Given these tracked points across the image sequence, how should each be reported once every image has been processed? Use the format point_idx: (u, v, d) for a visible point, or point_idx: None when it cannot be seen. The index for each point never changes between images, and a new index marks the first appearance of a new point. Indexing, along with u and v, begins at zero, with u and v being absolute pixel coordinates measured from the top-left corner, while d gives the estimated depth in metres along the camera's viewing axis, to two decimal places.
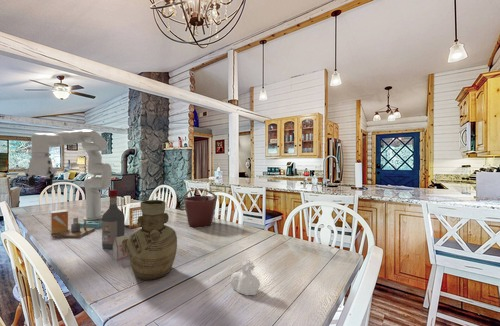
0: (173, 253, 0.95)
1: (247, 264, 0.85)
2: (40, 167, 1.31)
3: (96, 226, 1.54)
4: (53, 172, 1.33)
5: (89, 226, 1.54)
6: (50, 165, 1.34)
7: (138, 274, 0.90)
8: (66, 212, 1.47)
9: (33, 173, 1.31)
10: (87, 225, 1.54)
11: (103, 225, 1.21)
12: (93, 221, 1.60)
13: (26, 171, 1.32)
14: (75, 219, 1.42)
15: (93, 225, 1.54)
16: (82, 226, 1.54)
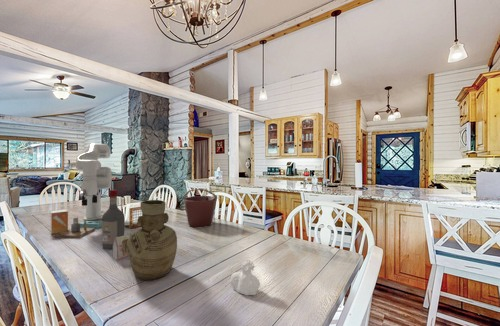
0: (173, 253, 0.95)
1: (247, 264, 0.85)
2: (95, 188, 1.58)
3: (96, 226, 1.54)
4: (98, 191, 1.64)
5: (89, 226, 1.54)
6: None
7: (138, 274, 0.90)
8: (66, 212, 1.47)
9: (90, 194, 1.54)
10: (87, 225, 1.54)
11: (103, 225, 1.21)
12: (93, 221, 1.60)
13: (82, 193, 1.49)
14: (75, 219, 1.42)
15: (93, 225, 1.54)
16: (82, 226, 1.54)
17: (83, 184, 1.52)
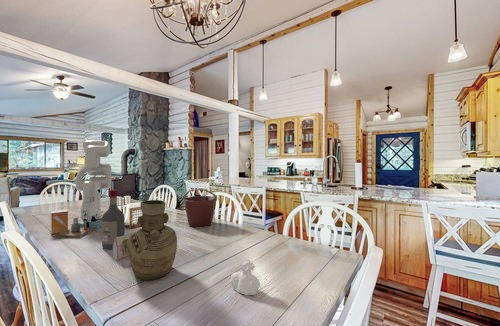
0: (173, 253, 0.95)
1: (247, 264, 0.85)
2: (95, 209, 1.59)
3: (96, 226, 1.54)
4: (97, 212, 1.64)
5: (89, 226, 1.54)
6: None
7: (138, 274, 0.90)
8: (66, 212, 1.47)
9: (90, 215, 1.55)
10: None
11: (103, 225, 1.21)
12: (93, 221, 1.60)
13: (83, 217, 1.51)
14: (75, 219, 1.42)
15: (93, 225, 1.54)
16: (82, 226, 1.54)
17: (83, 205, 1.52)
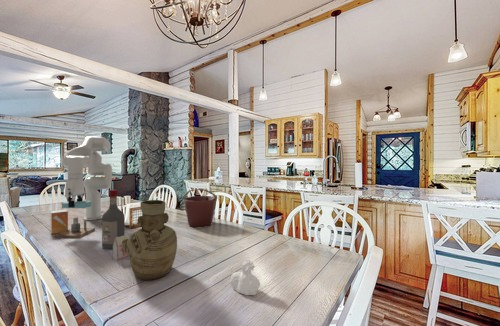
0: (173, 253, 0.95)
1: (247, 264, 0.85)
2: (81, 187, 1.44)
3: (82, 206, 1.40)
4: (84, 192, 1.49)
5: (74, 206, 1.40)
6: None
7: (138, 274, 0.90)
8: (66, 212, 1.47)
9: (76, 193, 1.41)
10: None
11: (103, 225, 1.21)
12: (79, 201, 1.45)
13: (68, 195, 1.36)
14: (75, 219, 1.42)
15: (79, 205, 1.40)
16: (67, 206, 1.40)
17: (68, 183, 1.38)
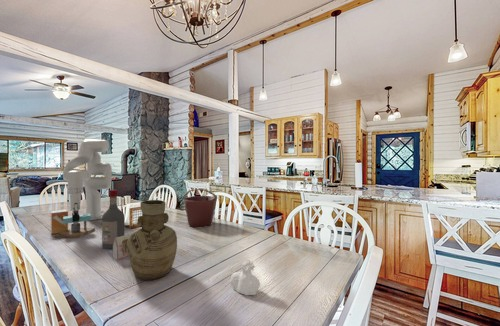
0: (173, 253, 0.95)
1: (247, 264, 0.85)
2: None
3: (88, 218, 1.45)
4: None
5: (79, 219, 1.42)
6: None
7: (138, 274, 0.90)
8: (66, 212, 1.47)
9: None
10: None
11: (103, 225, 1.21)
12: None
13: (77, 209, 1.38)
14: None
15: (84, 217, 1.44)
16: (69, 221, 1.39)
17: (74, 197, 1.39)
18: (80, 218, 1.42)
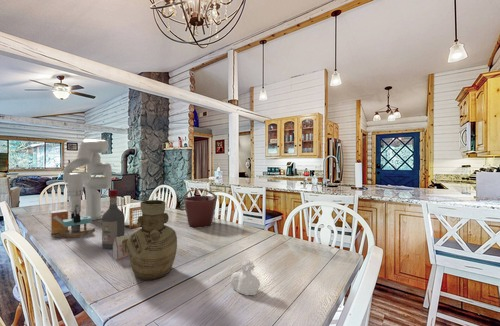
0: (173, 253, 0.95)
1: (247, 264, 0.85)
2: None
3: (89, 221, 1.46)
4: None
5: (80, 222, 1.42)
6: None
7: (138, 274, 0.90)
8: (66, 212, 1.47)
9: None
10: None
11: (103, 225, 1.21)
12: None
13: None
14: None
15: (85, 220, 1.44)
16: (70, 224, 1.39)
17: (75, 200, 1.39)
18: (81, 221, 1.43)
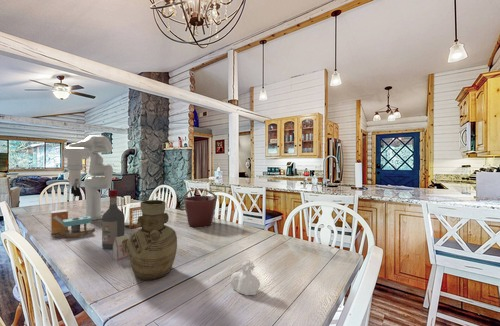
0: (173, 253, 0.95)
1: (247, 264, 0.85)
2: None
3: (89, 221, 1.46)
4: None
5: (80, 222, 1.42)
6: None
7: (138, 274, 0.90)
8: (66, 212, 1.47)
9: None
10: (77, 221, 1.42)
11: (103, 225, 1.21)
12: None
13: None
14: (75, 219, 1.42)
15: (85, 220, 1.44)
16: (70, 224, 1.39)
17: (75, 174, 1.42)
18: (81, 221, 1.43)
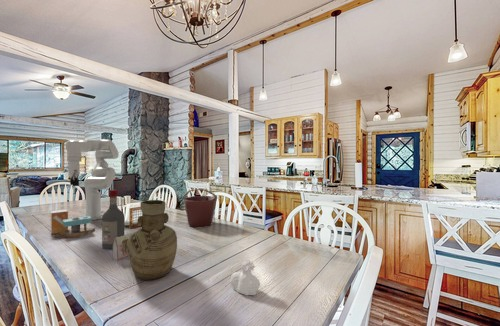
0: (173, 253, 0.95)
1: (247, 264, 0.85)
2: None
3: (89, 221, 1.46)
4: None
5: (80, 222, 1.42)
6: None
7: (138, 274, 0.90)
8: (66, 212, 1.47)
9: None
10: (77, 221, 1.42)
11: (103, 225, 1.21)
12: None
13: None
14: (75, 219, 1.42)
15: (85, 220, 1.44)
16: (70, 224, 1.39)
17: (74, 164, 1.49)
18: (81, 221, 1.43)
